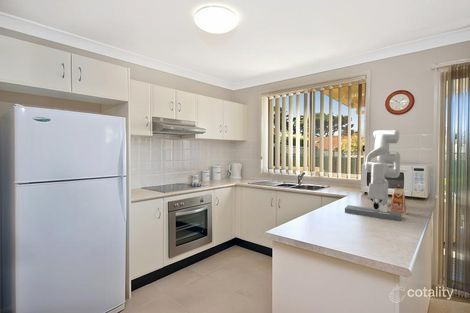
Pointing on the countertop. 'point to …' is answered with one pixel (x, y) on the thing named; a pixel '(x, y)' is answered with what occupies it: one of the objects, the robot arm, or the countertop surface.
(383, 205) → the fader
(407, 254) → the countertop surface
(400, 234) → the countertop surface
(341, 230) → the countertop surface
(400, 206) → the milk carton
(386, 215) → the bar
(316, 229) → the countertop surface
